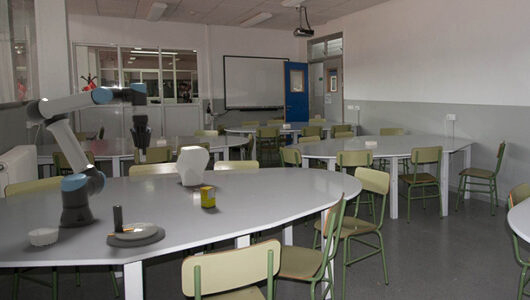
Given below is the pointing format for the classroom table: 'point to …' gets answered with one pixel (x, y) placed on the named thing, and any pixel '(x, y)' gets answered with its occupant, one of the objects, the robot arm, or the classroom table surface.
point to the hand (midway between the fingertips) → (142, 161)
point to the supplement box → (207, 197)
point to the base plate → (118, 243)
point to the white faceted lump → (192, 165)
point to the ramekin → (43, 236)
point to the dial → (131, 228)
